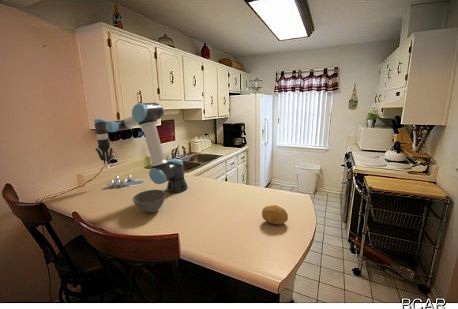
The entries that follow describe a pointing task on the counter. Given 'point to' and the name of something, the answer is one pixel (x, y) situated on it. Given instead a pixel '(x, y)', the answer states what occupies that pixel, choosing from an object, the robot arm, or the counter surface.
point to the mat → (129, 183)
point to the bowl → (149, 200)
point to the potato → (274, 214)
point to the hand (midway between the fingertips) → (107, 168)
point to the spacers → (119, 181)
